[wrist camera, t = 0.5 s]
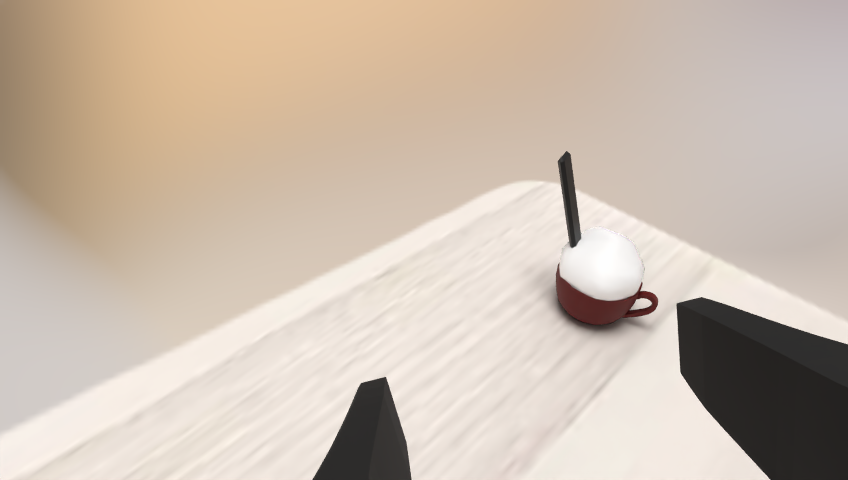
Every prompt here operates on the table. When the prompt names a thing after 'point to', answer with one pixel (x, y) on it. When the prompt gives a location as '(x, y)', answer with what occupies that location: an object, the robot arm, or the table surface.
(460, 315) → the table surface
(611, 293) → the cocoa
